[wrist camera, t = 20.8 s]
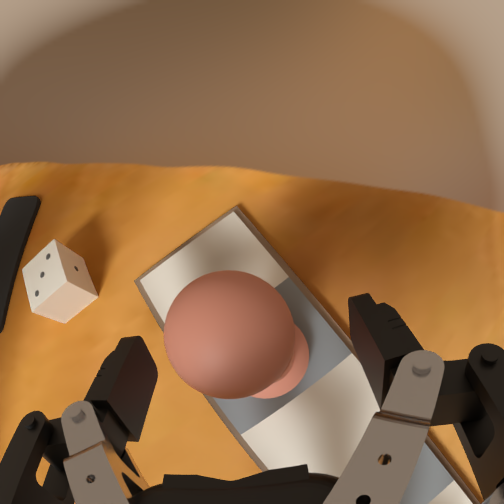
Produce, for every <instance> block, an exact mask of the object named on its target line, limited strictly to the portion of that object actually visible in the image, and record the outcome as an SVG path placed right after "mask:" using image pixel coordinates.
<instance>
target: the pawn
mask: <svg viewBox="0 0 504 504" xmlns="http://www.w3.org/2000/svg"><path fill="white" fill-rule="evenodd" d="M164 343H165V348H166V353H167V355H168V358H169V360H170V362H171V364H172V366H173V368H174V369H175V371H176V372H177V374H178V375H179V376H180V377H181V378H182V379H183V380H184V381H185V382H186V383H187V384H188V385H190V386H191V387H192V388H194V389H196V390H197V391H199V392H201V393H203V394H206V395H208V396H211V397H215V398H221V399H239V398H245V397H249V396H252V397H256V398H263V399H266V398H275V397H278V396H281V395H284V394H286V393H287V392H289V391H291V390H292V389H293V388H294V387H296V386H297V384H298V383H299V382H300V381H301V380H302V378H303V376H304V374H305V373H306V370H307V367H308V362H309V349H308V344H307V341H306V339H305V337H304V335H303V333H302V332H301V330H300V329H299V328H298V327H297V326H296V325H295V324H294V322H293V318H292V315H291V312H290V310H289V308H288V306H287V304H286V302H285V300H284V299H283V297H282V296H281V295H280V294H279V292H278V291H277V290H276V289H275V288H274V287H272V286H271V285H270V284H269V283H267V282H266V281H264V280H262V279H261V278H259V277H257V276H255V275H253V274H249V273H246V272H242V271H233V270H224V271H216V272H211V273H208V274H205V275H203V276H201V277H199V278H197V279H195V280H193V281H192V282H190V283H189V284H188V285H187V286H185V287H184V288H183V289H182V290H181V291H180V293H179V294H178V295H177V296H176V298H175V299H174V301H173V302H172V304H171V306H170V308H169V311H168V313H167V316H166V320H165V325H164Z"/></svg>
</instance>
